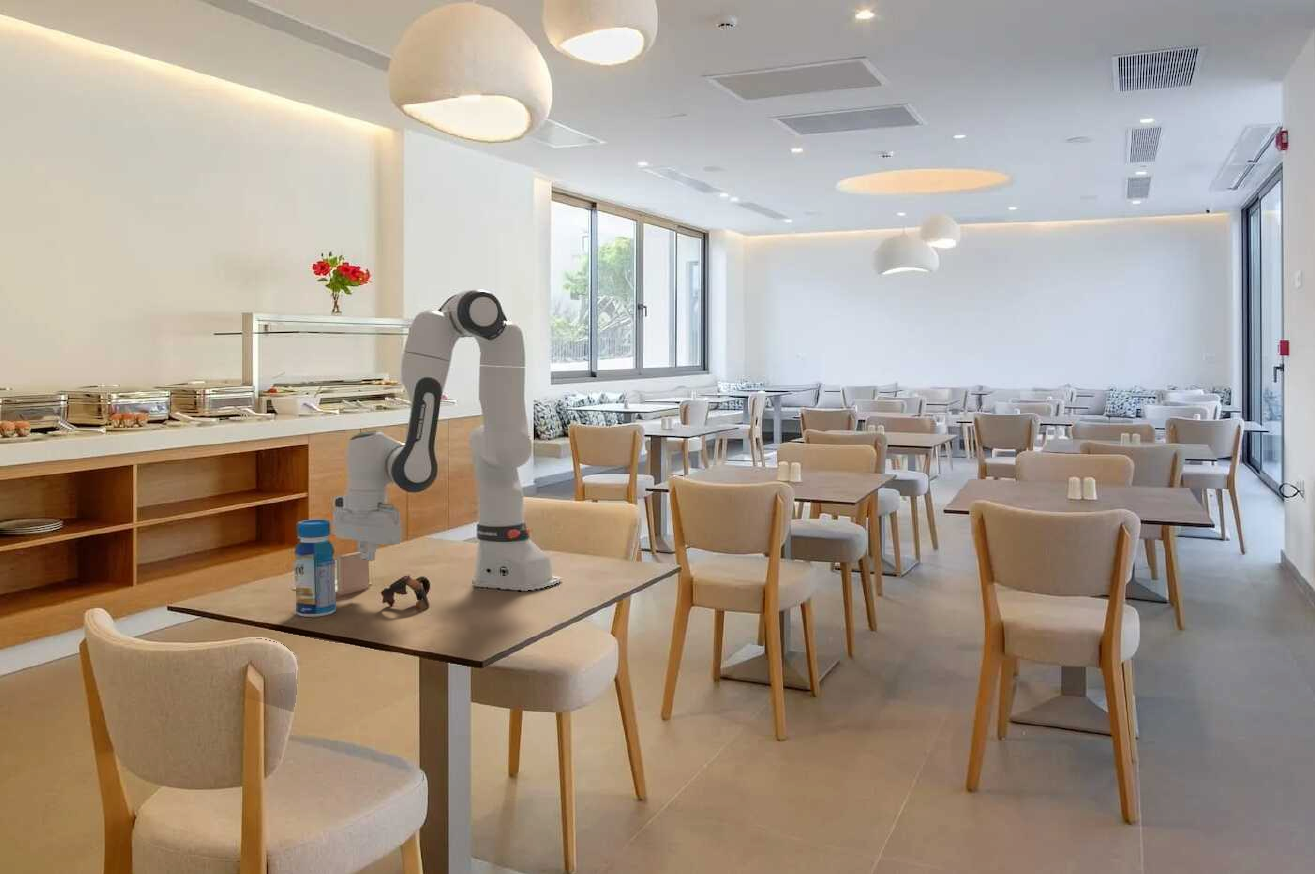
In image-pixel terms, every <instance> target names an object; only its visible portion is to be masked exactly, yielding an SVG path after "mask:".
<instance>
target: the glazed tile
mask: <svg viewBox="0 0 1315 874" xmlns="http://www.w3.org/2000/svg"><path fill="white" fill-rule="evenodd" d="M369 562H370V561H366V560H361V552H360V551H356V552H350V553H345V554H341V555H336V578H337V589H338V593H337V595H340V596H343V595H347V594H348V595H349V594H351V593H352V594H353V593H357V592H361V591H364V590H368V589H370V585H369V582H370V563H369Z"/></svg>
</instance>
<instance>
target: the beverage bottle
mask: <svg viewBox="0 0 1315 874" xmlns="http://www.w3.org/2000/svg"><path fill="white" fill-rule="evenodd" d="M296 533H297V534H296V535H297V538H298V539H300V540H299V542H298V543H297V545H296V547H295V549H294V554H293V556H294V558H295V562H294V563H293V569H294V576H295V577H294V579H295V581H294V582H295V587H296V590H295V603H296V607H295V612H296V614H297V615H298V616H300V617H305V618H319V617H324V616H325V617H326V616H329V615H332V614H333V613H335V612H336V610H337V603H336V601H337V600H336V594H335V578H336V577H335V576H336V575H335V574H336V571H335V569H336V560H335V558H334V554H335V548H334V546H333V544H332V543H331V541H330V540H329V538H328V537H330V536H331V523H330V521H329V520H328V519H307V520H301V521H298V522H297V523H296Z"/></svg>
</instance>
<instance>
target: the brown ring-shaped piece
mask: <svg viewBox="0 0 1315 874" xmlns="http://www.w3.org/2000/svg"><path fill="white" fill-rule="evenodd" d="M407 586H408V587H409V588H410V589H411V590H413V592H414V595H415V597H416V600H417V602H416V603H415V605H416V606H417V607H418V612H423V611H425V609H427V608H428V607H430V603H429V600H428V596H427V595H428V594H429V593H430V590H431V583H430V580H429V579H428V578H427V577H426V576H418V577H417V578H415V579H413V578H411V576H410V574H407V575H405V576H402V577H401V578H399V579H397V580H395V581H394V582H393V583H391V584H389V586H388V587H389V588H383V590H382V591H381V592H380V595H381V596H382V603H383V604H386V603H387V604H388V606H390V607H393V605H394V604H395V603H396V601H395V599H394V598H395V597H394V596H395V594H397V595H403V596H405V595H407V594H408V591H407Z"/></svg>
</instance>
